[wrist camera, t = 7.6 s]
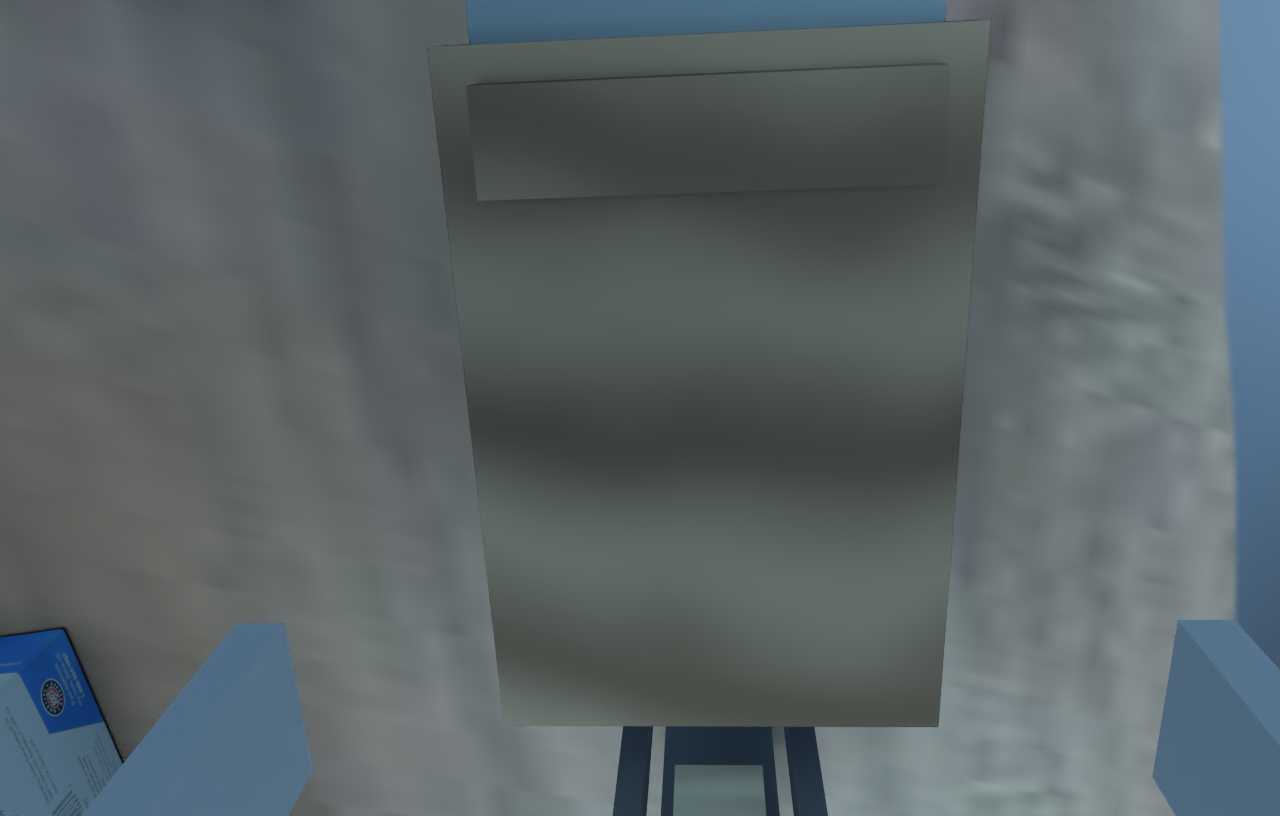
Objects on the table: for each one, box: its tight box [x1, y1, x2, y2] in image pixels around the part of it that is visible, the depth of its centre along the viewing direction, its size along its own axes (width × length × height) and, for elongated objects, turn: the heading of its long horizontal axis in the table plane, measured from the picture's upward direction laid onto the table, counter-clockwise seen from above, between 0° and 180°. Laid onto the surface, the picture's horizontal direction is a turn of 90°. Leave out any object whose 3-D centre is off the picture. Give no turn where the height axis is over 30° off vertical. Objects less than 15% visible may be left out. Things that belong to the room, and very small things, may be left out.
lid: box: [427, 20, 991, 727], centre depth 25 cm, size 18×12×3 cm, turn 2°
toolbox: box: [466, 0, 946, 816], centre depth 28 cm, size 27×11×12 cm, turn 2°
